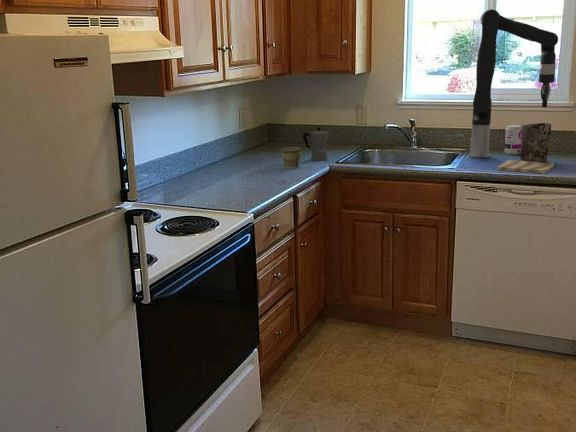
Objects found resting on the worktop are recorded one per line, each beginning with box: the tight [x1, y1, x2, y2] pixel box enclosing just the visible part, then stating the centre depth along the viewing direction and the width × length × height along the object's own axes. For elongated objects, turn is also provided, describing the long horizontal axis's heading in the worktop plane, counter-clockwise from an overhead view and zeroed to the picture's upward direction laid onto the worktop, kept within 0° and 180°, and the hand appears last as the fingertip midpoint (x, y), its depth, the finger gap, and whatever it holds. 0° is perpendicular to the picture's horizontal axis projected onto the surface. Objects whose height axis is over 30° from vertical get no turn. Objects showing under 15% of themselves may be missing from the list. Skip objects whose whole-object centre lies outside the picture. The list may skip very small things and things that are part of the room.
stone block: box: [520, 121, 552, 162], centre depth 316 cm, size 13×7×20 cm, turn 108°
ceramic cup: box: [280, 146, 305, 170], centre depth 321 cm, size 13×10×10 cm
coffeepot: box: [302, 126, 331, 162], centre depth 340 cm, size 15×9×18 cm, turn 99°
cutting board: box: [496, 159, 555, 175], centre depth 305 cm, size 22×20×2 cm
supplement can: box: [504, 124, 522, 155], centre depth 342 cm, size 8×8×15 cm
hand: (544, 107), depth 326 cm, fingers closed
